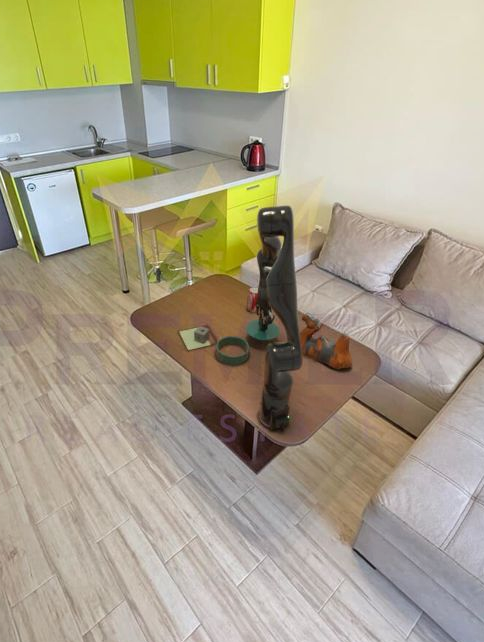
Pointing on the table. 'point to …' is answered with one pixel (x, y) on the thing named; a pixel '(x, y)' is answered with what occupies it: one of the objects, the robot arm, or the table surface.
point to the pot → (232, 359)
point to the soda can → (252, 299)
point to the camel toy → (324, 345)
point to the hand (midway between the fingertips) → (262, 327)
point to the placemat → (192, 340)
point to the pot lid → (259, 333)
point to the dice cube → (201, 334)
